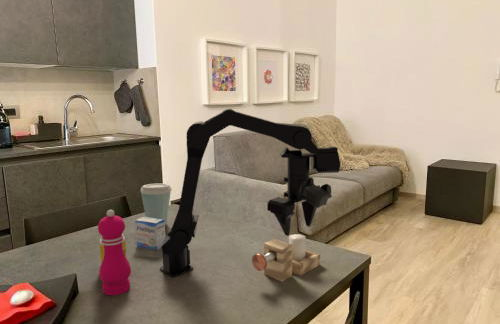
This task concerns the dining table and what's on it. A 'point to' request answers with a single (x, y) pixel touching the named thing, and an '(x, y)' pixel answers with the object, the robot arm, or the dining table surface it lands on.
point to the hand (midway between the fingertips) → (298, 230)
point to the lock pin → (263, 260)
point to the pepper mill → (113, 256)
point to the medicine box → (150, 233)
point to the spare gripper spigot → (297, 247)
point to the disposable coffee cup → (156, 200)
